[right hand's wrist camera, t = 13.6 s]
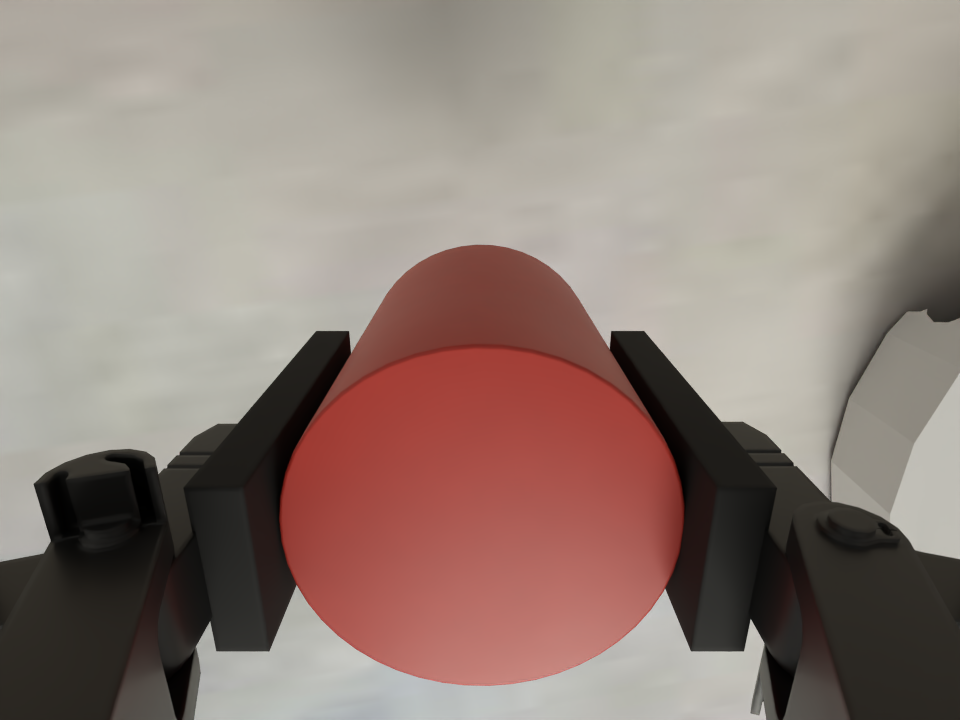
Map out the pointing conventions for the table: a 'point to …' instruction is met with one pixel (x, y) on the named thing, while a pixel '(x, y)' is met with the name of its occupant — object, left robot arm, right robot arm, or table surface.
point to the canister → (481, 481)
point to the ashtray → (906, 435)
